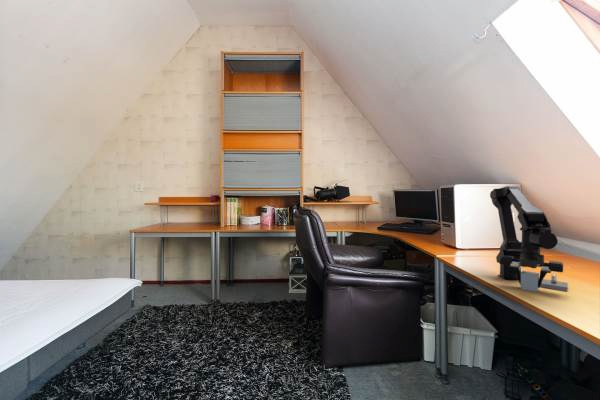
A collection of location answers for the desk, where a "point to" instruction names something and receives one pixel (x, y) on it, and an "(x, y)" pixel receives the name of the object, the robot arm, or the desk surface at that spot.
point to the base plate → (554, 284)
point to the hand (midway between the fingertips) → (529, 286)
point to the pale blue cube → (529, 281)
